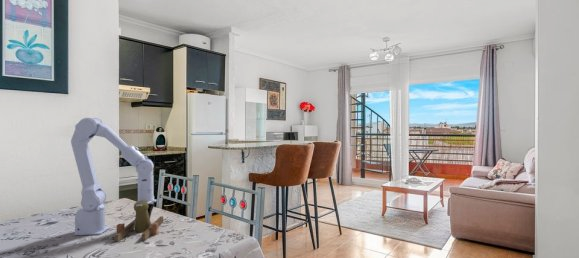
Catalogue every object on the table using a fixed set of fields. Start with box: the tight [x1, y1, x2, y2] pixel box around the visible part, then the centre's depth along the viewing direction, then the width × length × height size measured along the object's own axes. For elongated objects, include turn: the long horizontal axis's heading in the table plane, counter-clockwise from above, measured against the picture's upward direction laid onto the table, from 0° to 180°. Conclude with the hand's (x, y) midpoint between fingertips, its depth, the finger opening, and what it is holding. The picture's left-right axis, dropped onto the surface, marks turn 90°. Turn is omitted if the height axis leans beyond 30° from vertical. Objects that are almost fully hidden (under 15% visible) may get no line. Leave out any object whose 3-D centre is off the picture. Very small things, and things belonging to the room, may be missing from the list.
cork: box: [133, 201, 152, 233], centre depth 123 cm, size 6×6×11 cm
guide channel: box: [114, 215, 164, 243], centre depth 122 cm, size 14×21×4 cm
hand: (146, 222), depth 127 cm, fingers closed
